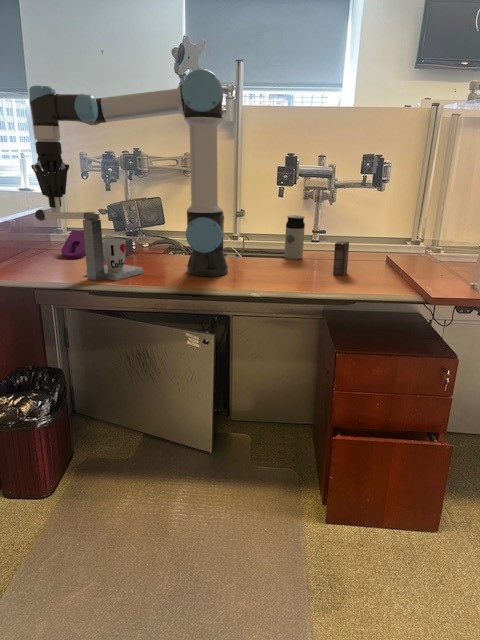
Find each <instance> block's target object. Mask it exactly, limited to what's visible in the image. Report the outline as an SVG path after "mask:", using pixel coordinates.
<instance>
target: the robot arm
mask: <svg viewBox="0 0 480 640" xmlns="http://www.w3.org/2000/svg"><path fill="white" fill-rule="evenodd" d="M28 91H29V95H28V96H29V104H30V112H31V118H32V127H33V135H34V140H35V142H34V145H35V150H36V151H35V152H36V154H37V160H36V161H37V162H36V163H35V164H31V166H30V167H31V169H32V171H33V172H34V173H35V176H36V180H37V183H38V185H39V189H40V191H41V194H42V196H45V197H46V198H47V199H48V204H49V205H48V206H49V208H51V210H50V211H51V212H62V210H61V207H62V198H63V196H64V195H66V193H67V181H68V179H67V178H68V171H69V169H70V165H69V164H68V163H67V164H66V163H65V162H64V161H63V160H64V159H63V158H62V154H63V151H62V150H63V149H62V144H61V142H60V140H61V132H60V126H59V125H60V124H59V122H60V121H61V122H79V123H83V124H86V125H89V126H97V125H100V124H104V123H112V122H121V121H127V120H128V121H129V120H139V119H145V118H153V117H154V118H155V117H156V118H157V117H163V116H170V115H171V116H172V115H173V116H174V115H179V114H181V115H182V116H183V117H184V121H185V122H186V123H187V124H188V126H189V155H190V156H189V159H190V160H189V161H190V166H189V167H190V195H191V197H190V201H191V204H190V206H189V207H188V208H187V209H186V223H187V224H186V229H185V238H186V241H187V244H188V245H189V246H190V248H191V252H190V256H189V260H188V263H187V265H186V272H187V274H189V275H191V276H196V277H219V276H224V275H226V274H228V272H229V266H228V263H227V260H226V256H225V253H224V237H225V235H224V232H225V230H224V227H225V226H224V223H225V215H224V214H225V213H224V211H223V209H222V208H221V207H220V206H219V204H218V197H219V196H218V191H219V189H218V126H219V124H220V123H221V122H222V121H223V100H224V93H223V86H222V83H221V80H220V78H219V77H218V76H217V75H216V74H215V73H214V72H212V71H210V70H209V69H205V68H197V69H193V70H191V71H190V72H189V73H188V74H187V75H186V76H185V78H184V80H183V81H182V84H179V85H178V86H177V87H176V88H172V89H170V88H169V89H164V90H161V89H160V90H155V91H147V92H137V93H130V94H122V95H114V96H108V97H107V96H106V97H99V98H96V97H95V96H93V95H92V94H85V93H80V94H77V93H75V94H69V93H68V94H63V93H57V92H56V90H55V87H53V86H48V85H32V86H30V87H29V90H28Z"/></svg>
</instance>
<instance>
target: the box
mask: <svg viewBox="0 0 480 640" xmlns="http://www.w3.org/2000/svg"><path fill="white" fill-rule="evenodd" d="M349 248H350V241H343V240H342V241H341V240H339V241H337V242H335V243H334V253H333V267H332V268H333V271H332V274H333V276H340V277H343V276H346V274H347V273H348V264H349V261H348V260H349V250H350V249H349Z"/></svg>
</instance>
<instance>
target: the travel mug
mask: <svg viewBox="0 0 480 640" xmlns="http://www.w3.org/2000/svg"><path fill="white" fill-rule="evenodd" d="M286 217H287V221H286V224H285V235H284V236H285V237H284V238H285V239H284V255H283V257H284V258H285V259H287V260H294V261H295V260H301V259H303V253H304V243H305V227H306V224H305V221H304V220H305V218H306V216H304V215H300V214H299V215H297V214H292V215H291V214H290V215H287V216H286Z"/></svg>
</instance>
